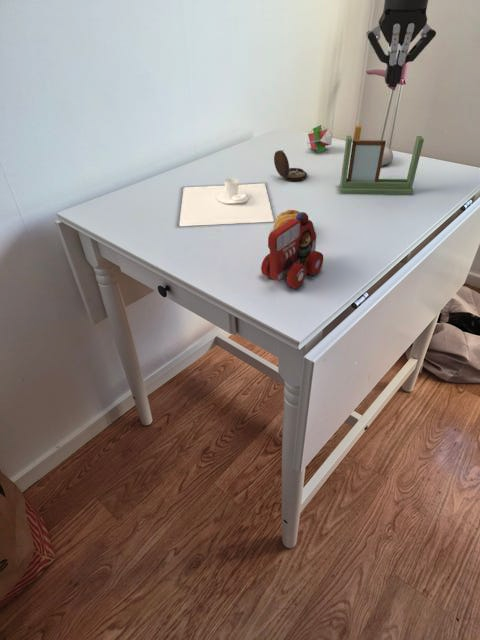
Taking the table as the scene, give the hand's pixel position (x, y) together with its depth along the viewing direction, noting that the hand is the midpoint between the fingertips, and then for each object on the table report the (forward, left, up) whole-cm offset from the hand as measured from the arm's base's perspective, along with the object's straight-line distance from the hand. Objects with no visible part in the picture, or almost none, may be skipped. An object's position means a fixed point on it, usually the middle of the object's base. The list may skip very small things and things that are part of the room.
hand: (391, 86), depth 85 cm
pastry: (+19, +22, -22) cm, 36 cm away
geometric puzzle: (+12, -27, -22) cm, 37 cm away
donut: (-2, -19, -22) cm, 29 cm away
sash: (+3, 0, -21) cm, 21 cm away
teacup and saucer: (+34, +8, -22) cm, 41 cm away
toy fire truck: (+19, +36, -22) cm, 46 cm away
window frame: (0, 0, -22) cm, 22 cm away
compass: (+20, -8, -22) cm, 31 cm away
